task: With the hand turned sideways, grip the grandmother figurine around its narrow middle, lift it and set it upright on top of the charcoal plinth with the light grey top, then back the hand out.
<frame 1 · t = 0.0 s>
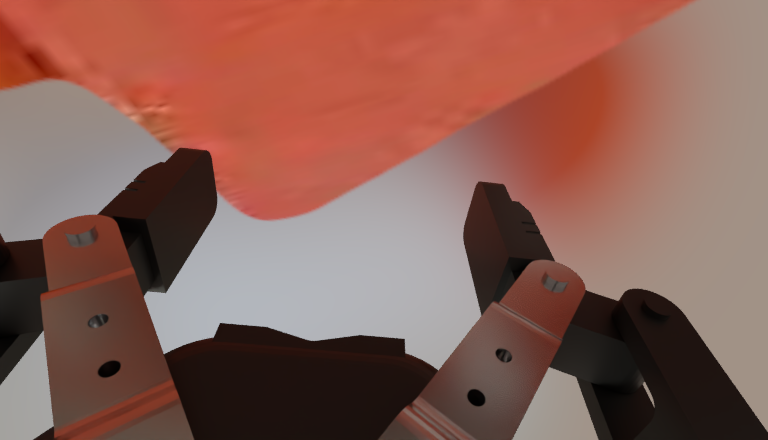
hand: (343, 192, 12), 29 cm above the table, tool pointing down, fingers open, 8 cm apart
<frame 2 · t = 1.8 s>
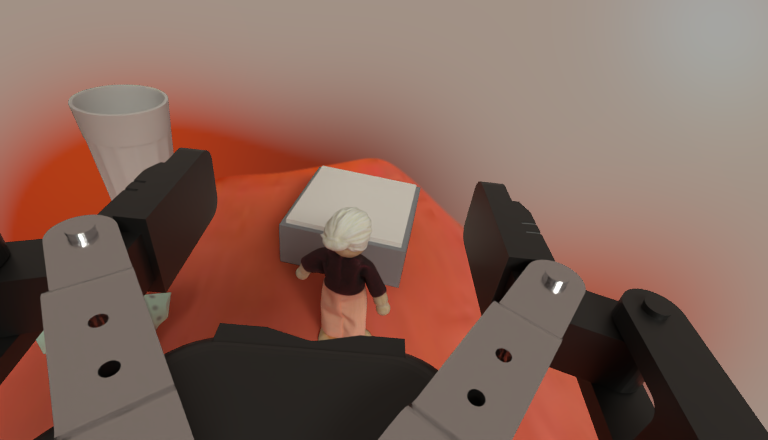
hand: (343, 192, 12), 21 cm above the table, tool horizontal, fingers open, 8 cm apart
robot head: (125, 368, 29), on the table
plinth: (353, 237, 44), on the table
cup: (148, 206, 45), on the table
grandmother figurine: (338, 336, 34), on the table
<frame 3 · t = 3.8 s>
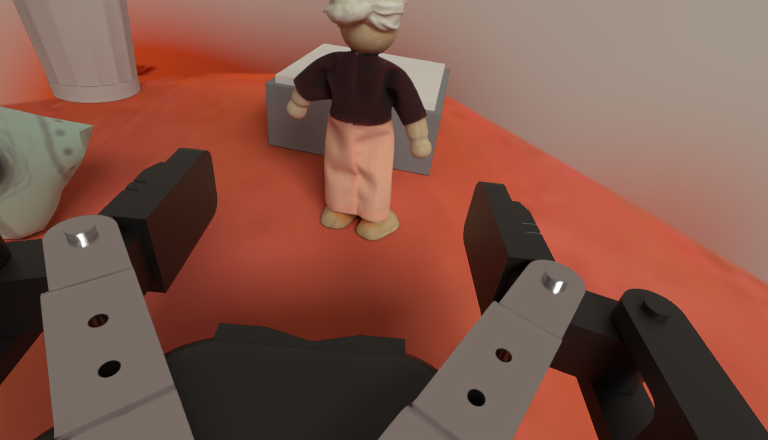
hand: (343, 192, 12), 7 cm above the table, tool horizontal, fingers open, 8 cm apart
robot head: (23, 243, 19), on the table
plinth: (365, 129, 34), on the table
cup: (98, 91, 34), on the table
grandmother figurine: (349, 220, 23), on the table
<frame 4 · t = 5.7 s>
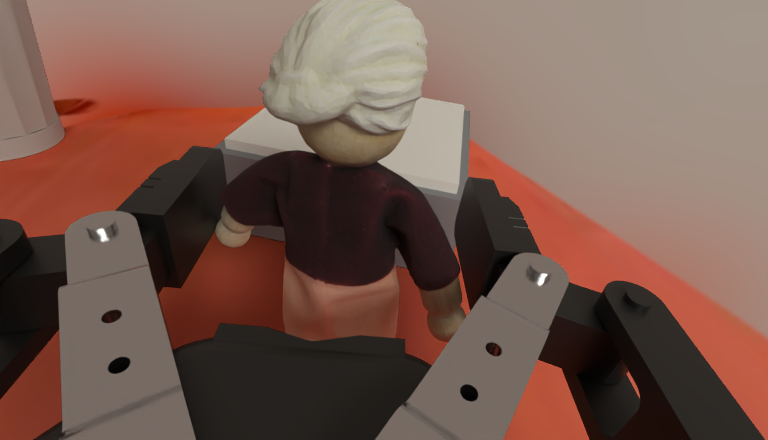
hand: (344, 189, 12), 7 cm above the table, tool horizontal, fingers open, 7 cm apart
plinth: (358, 193, 26), on the table
cup: (5, 142, 26), on the table
grandmother figurine: (327, 383, 15), on the table, touching gripper
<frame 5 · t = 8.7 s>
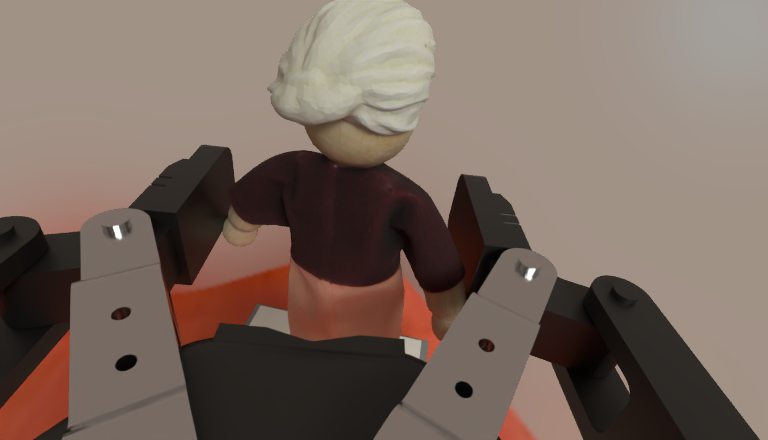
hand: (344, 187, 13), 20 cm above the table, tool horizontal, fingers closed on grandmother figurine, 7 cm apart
grandmother figurine: (331, 383, 15), point 12 cm above the table, touching gripper
when the fingers open (13 cm above the table, at t = 11.2 s): grandmother figurine drops 1 cm, resting on plinth.
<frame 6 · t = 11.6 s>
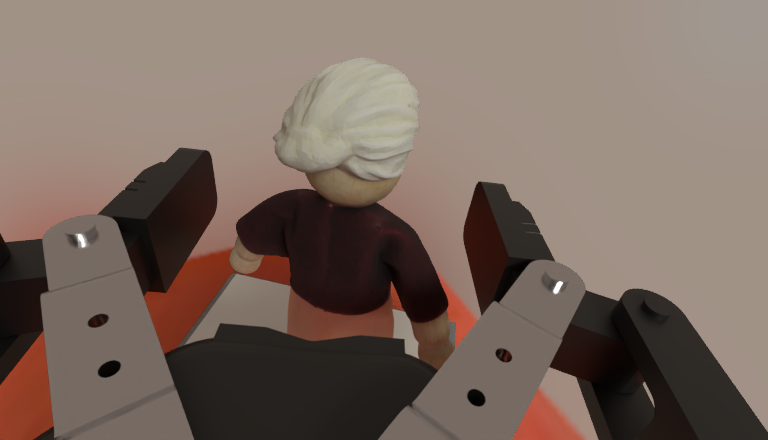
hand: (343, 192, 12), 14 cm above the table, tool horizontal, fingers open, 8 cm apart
grandmother figurine: (326, 407, 16), point 5 cm above the table, touching plinth
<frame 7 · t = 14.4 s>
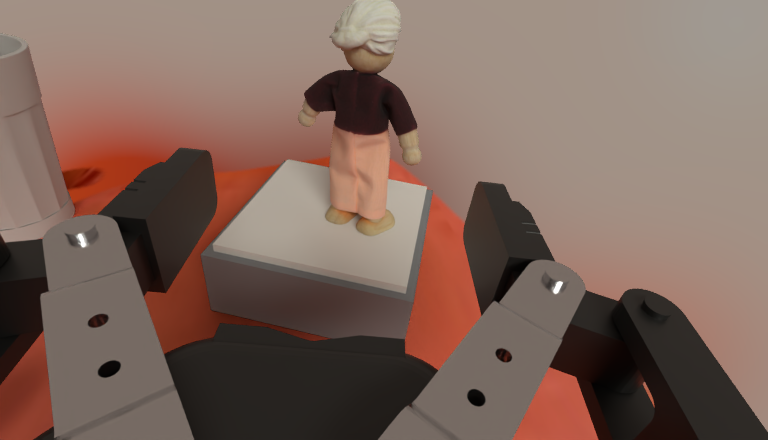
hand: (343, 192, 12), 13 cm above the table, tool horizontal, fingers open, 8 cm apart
plinth: (332, 267, 29), on the table
cup: (23, 221, 30), on the table
grandmother figurine: (351, 218, 26), point 5 cm above the table, touching plinth
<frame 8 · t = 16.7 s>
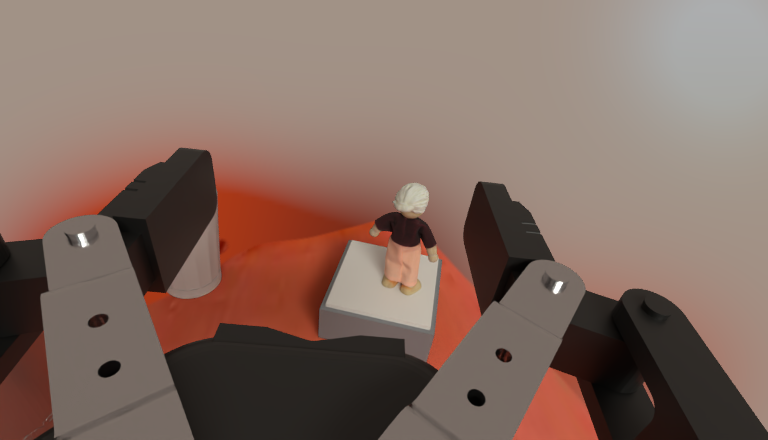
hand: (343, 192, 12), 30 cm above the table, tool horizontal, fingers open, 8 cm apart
plinth: (382, 308, 48), on the table
cup: (193, 280, 49), on the table
grandmother figurine: (396, 283, 45), point 5 cm above the table, touching plinth
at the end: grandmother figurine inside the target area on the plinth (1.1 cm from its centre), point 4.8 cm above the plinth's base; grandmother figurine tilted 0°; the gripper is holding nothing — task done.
